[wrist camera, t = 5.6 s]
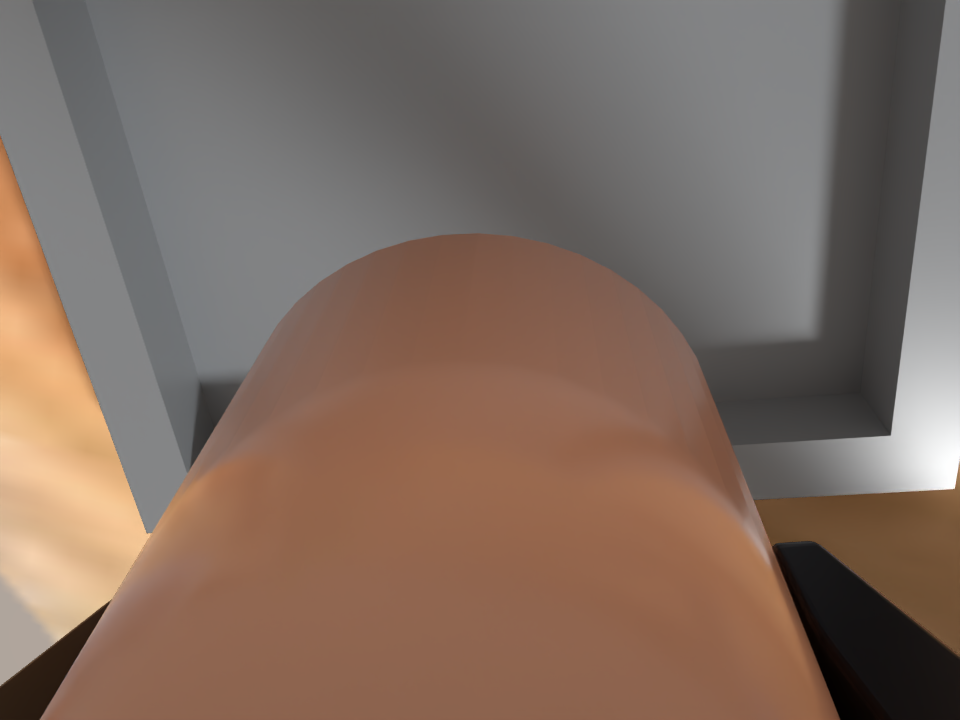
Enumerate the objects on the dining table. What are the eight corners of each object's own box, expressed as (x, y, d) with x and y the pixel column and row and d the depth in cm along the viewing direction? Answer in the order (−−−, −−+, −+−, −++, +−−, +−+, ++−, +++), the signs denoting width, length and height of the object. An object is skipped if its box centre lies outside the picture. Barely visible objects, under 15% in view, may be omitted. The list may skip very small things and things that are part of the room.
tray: (907, 426, 22) (954, 488, 20) (187, 471, 24) (146, 533, 22) (1055, -656, 13) (1175, -793, 11) (-109, -434, 15) (-236, -505, 13)
